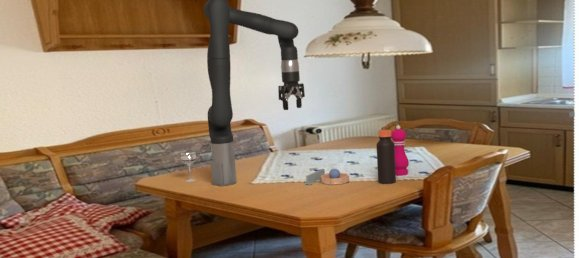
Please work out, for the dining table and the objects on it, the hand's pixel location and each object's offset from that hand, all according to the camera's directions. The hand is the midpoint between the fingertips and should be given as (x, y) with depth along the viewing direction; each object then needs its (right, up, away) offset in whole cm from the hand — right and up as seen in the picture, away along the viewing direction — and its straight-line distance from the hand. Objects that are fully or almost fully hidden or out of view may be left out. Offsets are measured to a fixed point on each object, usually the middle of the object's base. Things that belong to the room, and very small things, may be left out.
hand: (292, 108), depth 243 cm
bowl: (+17, -29, -18) cm, 38 cm away
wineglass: (-44, -31, +3) cm, 54 cm away
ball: (+17, -29, -18) cm, 38 cm away
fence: (+9, -29, -14) cm, 34 cm away
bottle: (+36, -29, -24) cm, 52 cm away
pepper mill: (+44, -27, -11) cm, 53 cm away
